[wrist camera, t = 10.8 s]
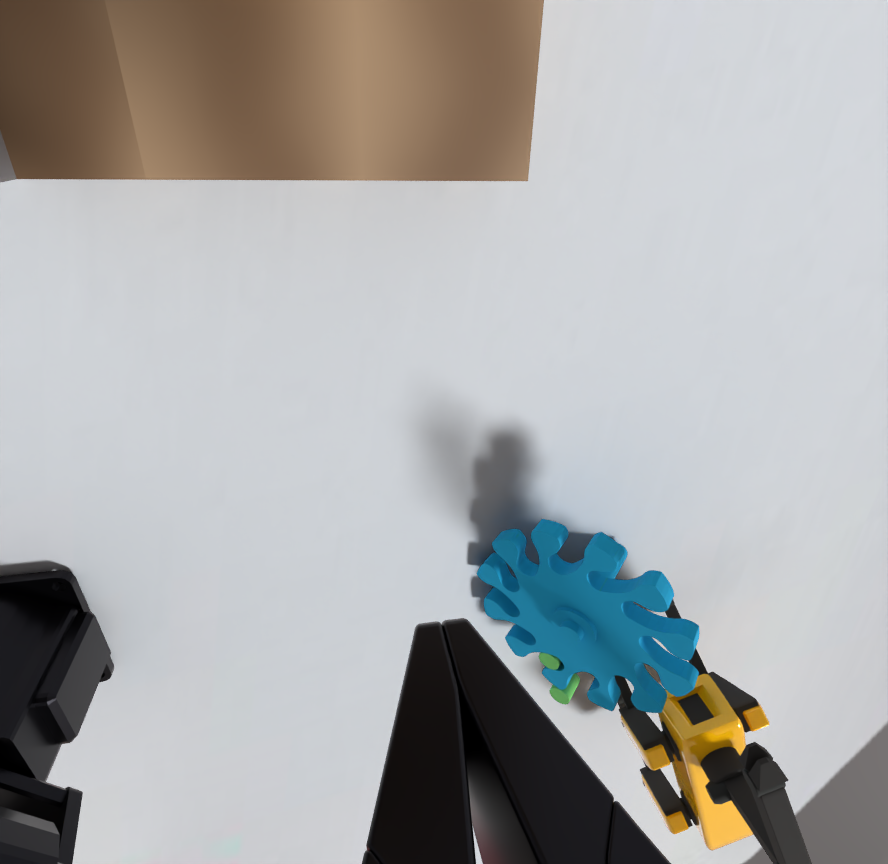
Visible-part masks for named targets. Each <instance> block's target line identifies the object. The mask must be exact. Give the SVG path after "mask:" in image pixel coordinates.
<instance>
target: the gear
mask: <svg viewBox="0 0 888 864" xmlns="http://www.w3.org/2000/svg"><path fill="white" fill-rule="evenodd" d="M567 538H568V530H567V528H566V527H565V526H564V525H562V524H560V523H557V522H554V521H550V520H545V519H541V521H540V522H539V523H538V525H537V526H536V527H535V528H534V530H533V531H532V533H531V539H532V542H533V544H534V545H535V547H536V549H537V552H538V555H539V565H538V564H535V563H533V562H531V561H530V560H529V559H528V558H527V556H526V554H525V548H526V544H527V541H526V537H525V536H524V534H523V533H522V532H521V531H520V530H519V529H509V530H505V531H502V532H501V533H500V534H499V535H498V536H497V537H496V539H495V540H494V541H493V542H492V546H493V549H494V550H495V552H496V553H497V554H496V553H492V554H491V555H490V556H489V557H488V558H487V559H486V560H485V562H484V563H483V564H482V565H481V566H480V568H479V570H478V572H477V575H478V577H479V578H480V579H481V580H482V581H484V582H485V583H487V584H489V585H492V586H494V587H495V588H492V590H491V591H490V592H489V593H488V595H487V596H486V597H485V599H484V608H485V612H486V614H487V615H488V616H489V617H491V618H493V619H496V620H506V621H510V622H512V623H515V624H516V625H514V626H513V627H512V628H511V630H510V631H509V633H508V634H507V636H506V637H505V639H506V641H507V643H508V645H509V646H510V648H511V649H512V651H513V652H514V653H515V655H517V656H521V657H524V656H526V655H527V654H529V653H532V652H541V653H540V655H539V659H540V661H541V663H542V664H543V665H544V666H545V667H544V669H543V671H542V674H543V675H544V677H545V678H546V679H547V680H549V681H550V682H551V683H552V684H553V685H552V687H551V689H550V694H551V696H552V697H553V698H554V699H555V700H556V701H557V702H559V703H561V704H568V703H569V701H570V699H571V697H572V696H573V694H574V692H575V690H576V688H577V686H578V684H579V682H580V678H579V676H578V675H577V674H576V673H578V672H582V671H584V672H588V673H590V674H592V675H593V676H594V677H595V678H594V680H593V682H592V685H591V687H590V689H589V691H588V693H587V696H588V699H589V700H590V701H592V702H593V703H595V704H597V705H598V706H601V707H603V708H605V709H608V710H610V711H613V710H614V708H615V706H616V704H617V702H618V699H619V697H620V695H621V691H620V688H619V687H618V685H617V683H616V680H615V675H619V676H622V677H624V678H626V679H628V680H629V681H630V682H631V683H632V684H633V686H634V691H633V693H632V696H631V701H632V703H633V705H634V706H635V707H636V708H637V709H638V710H641V711H645V712H651V713H662V710H663V708H664V705H665V702H666V699H667V692H666V691H665V689H666V690H667V691H668V692H669V693H671V694H672V695H674V696H676V697H679V696H684V695H686V694H688V693H689V692H691V691H692V690H693V689H694V687H695V684H696V681H697V678H698V675H699V672H698V670H697V669H696V668H695V667H694V666H693V665H692V664H690V663H689V662H687V661H685V660H691V658H692V656H693V654H694V651H695V648H696V645H697V642H698V639H699V626H698V625H697V624H695V623H694V622H692V621H690V620H687V619H674V618H667V617H662V616H659V615H656V614H653V613H651V612H649V611H647V610H645V609H643V608H641V607H640V606H638V605H636V604H635V603H638V604H640V605H641V606H643V607H645V608H647V609H649V610H651V611H655V612H664V611H667V610H668V608H669V606H670V604H671V601H672V599H673V597H674V592H673V589H672V587H671V585H670V583H669V581H668V580H667V578H666V577H665V576H664V574H663V573H662V572H660V571H654V570H652V571H647V572H645V573H644V574H643V575H642V576H640V577H638V578H634V579H630V580H618V579H615V577H616V575H617V574H618V572H619V570H620V568H621V566H622V565H623V563H624V561H625V559H626V557H627V550H626V549H625V547H623V546H622V545H621V544H618V543H617V542H616V541H614V540H613V539H612V538H610V537H609V536H607V535H606V534H604V533H602V532H599V533H597V534H595V535H594V536H593V538H592V539H591V541H590V542H589V544H588V546H587V547H586V549H585V551H584V558H583V559H581V560H579V561H577V562H575V563H568V562H566V561H564V560H562V559H561V558H560V557H559V556H558V554H557V552H558V551H559V550H560V548H561V547H562V545H563V544H564V542H565V541H566V540H567ZM505 561H506V562H507V563H508V565H509V566H510V567H511V569H512V570H513V572H514V574H515V576H516V578H517V579H516V578H515V577H513V576H512V575H511V573H510V571H509V569H508V566H507V564H506V562H505ZM633 602H635V603H633ZM652 637H653V638H655V639H657V640H659V641H660V642H661V643H662V644H663V645H664V646H665V647H666V649H667V650H668V651H669V652H670V653H672V654H673V655H672V654H670V653H669V652H667V651H666V650H665V649H663V648H662V647H661V646H660V645H659V644H657V643H656V642H655V641H654V639H653V638H652ZM680 658H681V659H680ZM682 659H684V660H682ZM643 663H644V664H647V665H649V666H651V667H652V668H654V669H655V670H656V671H657V673H658V674H659V677H660V680H661V683H662V685H663V687H664V688H665V689H664V688H663V687H662V686H661V685H660V684H659V683H657V682H656V681H655V680H654V679H653V678H652V677H651V675H650V674H649V673H648V671H647V670H646V668H645V666H644V664H643Z"/></svg>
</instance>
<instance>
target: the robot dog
mask: <svg viewBox="0 0 888 864" xmlns="http://www.w3.org/2000/svg"><path fill="white" fill-rule="evenodd" d="M665 613H666V615H667V617H668V618H674V619H681V617H680V615H679V613H678V610H677V608H676V606H675V604H674V601H673V599H672V601H671V604H670V606H669V608H668V610H667V611H665ZM688 661H689V663H690V664H692V665H693V666H694V667H695V668H696V669H697V670H698V672H699V675H698V678H697V681H696V684H695V687H694V689H693V690H692V691H691V692H689V693H688V694H686V695H684V696H679V697H676V696H674V695H672V694H671V693H669V692H668V691H667V690H666V689H665V691H666V692H667V699H666V702H665V705H664V708H663V710H662V713H658V714H659V718H660V722H661V725H662V729H663V731H662V732H661V731H660V730H659V729H658V727H657V726H656V725H655V724H654V722H653V721H652V720H651V719H650V717H649V716H648V715H647V714H646V712H645V711H641V710H638V709H637V708H636V707H635V706H634V705H633V703H632V701H631V696H632V693H631V691H630V688H629V686H628V684H627V682H626V679H625V678H624V677H622V676H619V675H615V680H616V683H617V685H618V687H619V688H620V691H621V695H620V697H619V699H618V705H619V707H620V709H619V711H620V714H621V720H622V724H623V727H625V729H626V732H627V734H628V736H629V738H630V739H631V741H632V742H633V744H634V746H635V747H636V749H637V751H638V752H639V754H640V756H641V757H642V759H643V761H644V764H645V766H646V767H644V768H642V769H640V771H641V774H642V780H643V784H644V786H645V787H646V789H647V792H648V794H649V796H650V798H651V799H652V801H653V803H654V805H655V807H656V808H657V810H658V812H659V814H660V816H661V818H662V819H663V821H664V823H665V825H666V826H667V828H668V829H669V831H670V832H671V833H673V834H677V833H680V832H682V831H685V830H687V829H688V827H690V826H692V823H691V819H692V820H693V822H694V824H695V825H696V827H697V829H698V831H699V832H700V834H701V836H702V838H703V840H704V842H705V844H706V846H707V847H708V849H710V850H715V849H718V848H720V847H723V846H725V845H728V844H731V843H733V842H736V841H738V840H741V839H743V838H746V837H749V836H751V835H753V834H754V835H755V837H756V838H757V840H758V841H759V843H760V844H761V846H762V847H763V849H764V850H765V852H766V853H767V855H768V856H769V858H770V859H771V861H772V862H773V864H812V863H811V860H810V857H809V854H808V852H807V849H806V846H805V843H804V840H803V838H802V835H801V832H800V829H799V826H798V824H797V821H796V818H795V815H794V813H793V810H792V807H791V804H790V801H789V799H788V796H787V793H786V790H785V786H786V784H785V782H786V781H788V779H787V777H786V776H785V775H784V773H783V772H782V770H781V769H780V767H779V766H778V764H777V763H776V762H774V761H773V757H772V756H771V755H770V754H769V753H768V751H767V750H766V749H765V748H763V747H762V746H760V745H759V744H757V743H755V742H753V743H751V744H748V745H746V742H745V733H744V732H749V731H756V730H758V729H761V728H763V727H766V726H769V721H768V719H767V717H766V715H765V713H764V711H763V709H762V707H761V705H760V704H759V703H758V702H757V700H756V699H755V698H753V697H752V696H750V695H749V694H747V693H746V692H744V691H742V690H741V689H739V688H738V687H736V686H735V685H733V684H731V683H730V682H728V681H727V680H725V679H724V678H722V677H720V676H719V675H717V674H716V673H714V672H710V673H707V671H706V668H705V666H704V664H703V662H702V660H701V658H700V656H699V654H698V652H697V650H696V648H695V651H694V654H693V656H692V658H691V660H688ZM670 762H672V765H673V768H674V772H675V776H676V779H677V783H678V787H679V790H680V794H681V797H682V798H679V797H678V795H677V794H676V792H675V791H674V789H673V788H672V786H671V785H670V783H669V782H668V780H667V779H666V777H665V776H664V774H663V773H662V771H661V770H660V768H662V767H665V766H667V765H670Z"/></svg>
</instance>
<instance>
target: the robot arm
mask: <svg viewBox="0 0 888 864" xmlns="http://www.w3.org/2000/svg"><path fill="white" fill-rule="evenodd" d="M58 582H61V583H63V584H60V583H58ZM110 654H111V652H110V649H109V647H108V644H107V642H106V640H105V637H104V635H103V633H102V630H101V628H100V626H99V624H98V621H97V619H96V617H95V615H94V614H93V613H92V612H91V611H90V609H89V607H88V604H87V602H86V600H85V598H84V595H83V593H82V591H81V588H80V586H79V584H78V581H77V579H76V577H75V576H74V575H73V574H71V573H70V572H67V571H50V572H40V573H31V574H21V575H12V576H2V577H0V864H72V861H73V854H74V848H75V841H76V834H77V827H78V821H79V814H80V807H81V800H82V791H79V790H76V789H74V788H71V787H67V788H65V789H64V788H61V787H59V786H56V785H53V784H50V783H47V782H46V780H47V778H48V775H49V773H50V771H51V768H52V766H53V764H54V761H55V759H56V757H57V754H58V752H59V749H60V747H61V745H62V744H65V743H70V742H72V741H73V740H74V739H75V737H76V736H77V735H78V733H79V730H80V728H81V725H82V723H83V721H84V718H85V716H86V713H87V711H88V708H89V706H90V703H91V701H92V698H93V696H94V693H95V691H96V688H97V686H98V684H99V682H103V681H106V680H108V679H110V677H111V675H112V673H113V670H114V664H113V662H112V660H111V657H110ZM613 801H614V797H613V795H612V794H611V793H610V791H609V790H608V789H607V788H606V787H605V785H604V784H603V783H602V782H601V781H600V779H599V778H598V777H597V776H596V775H595V773H594V772H593V771H592V770H591V768H590V767H589V766H588V765H587V764H586V762H585V761H584V760H583V759H582V758H581V756H580V755H579V754H578V753H577V752H576V750H575V749H574V748H573V747H572V745H571V744H570V743H569V742H568V741H567V739H566V738H565V737H564V736H563V735H562V733H561V732H560V731H559V730H558V729H557V727H556V726H555V725H554V724H553V722H552V721H551V720H550V719H549V718H548V716H547V715H546V714H545V713H544V712H543V710H542V709H541V708H540V707H539V706H538V704H537V703H536V702H535V701H534V699H533V698H532V697H531V696H530V695H529V693H528V692H527V691H526V690H525V689H524V687H523V686H522V685H521V684H520V682H519V681H518V680H517V679H516V678H515V676H514V675H513V674H512V673H511V672H510V670H509V669H508V668H507V667H506V666H505V664H504V663H503V662H502V661H501V659H500V658H499V657H498V656H497V655H496V653H495V652H494V651H493V650H492V649H491V647H490V646H489V645H488V644H487V643H486V641H485V640H484V639H483V638H482V636H481V635H480V634H479V633H478V632H477V630H476V629H475V628H474V627H473V626H472V624H471V623H470V622H469V621H468V620H467V619H464V618H460V619H452V620H445V621H443V622H442V625H441V623H440V622H429V623H422V624H418V625H417V626H416V628H415V632H414V636H413V641H412V645H411V650H410V654H409V658H408V663H407V667H406V672H405V676H404V681H403V685H402V690H401V694H400V698H399V703H398V707H397V712H396V716H395V721H394V725H393V729H392V734H391V738H390V743H389V747H388V752H387V756H386V761H385V765H384V769H383V774H382V778H381V783H380V787H379V792H378V796H377V801H376V805H375V809H374V814H373V818H372V823H371V827H370V832H369V836H368V840H367V845H366V846H367V851H365V853H364V857H363V861H362V864H476V859H475V848H474V838H473V828H474V832H475V836H476V839H477V843H478V847H479V851H480V854H481V858H482V862H483V864H671V863H670V862H669V861H668V860H667V859H666V857H665V856H664V855H663V854H662V853H661V852H660V851H659V849H658V848H657V847H656V846H655V845H654V844H653V842H652V841H651V840H650V839H649V838H648V837H647V836H646V834H645V833H644V832H643V831H642V830H641V829H640V828H639V826H638V825H637V824H636V823H635V821H634V820H633V819H632V818H631V817H630V815H629V814H628V813H627V812H626V811H625V809H624V808H623V807H622V806H621V804H620V803H619V802H617V801H615V802H614V803H613ZM472 825H473V827H472Z"/></svg>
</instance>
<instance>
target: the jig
mask: <svg viewBox="0 0 888 864" xmlns="http://www.w3.org/2000/svg"><path fill="white" fill-rule="evenodd" d="M543 4H544V0H0V182H4V181H9V180H14V179H150V180H398V181H528V173H529V162H530V151H531V139H532V128H533V117H534V105H535V94H536V83H537V72H538V60H539V49H540V38H541V27H542V15H543Z"/></svg>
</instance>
